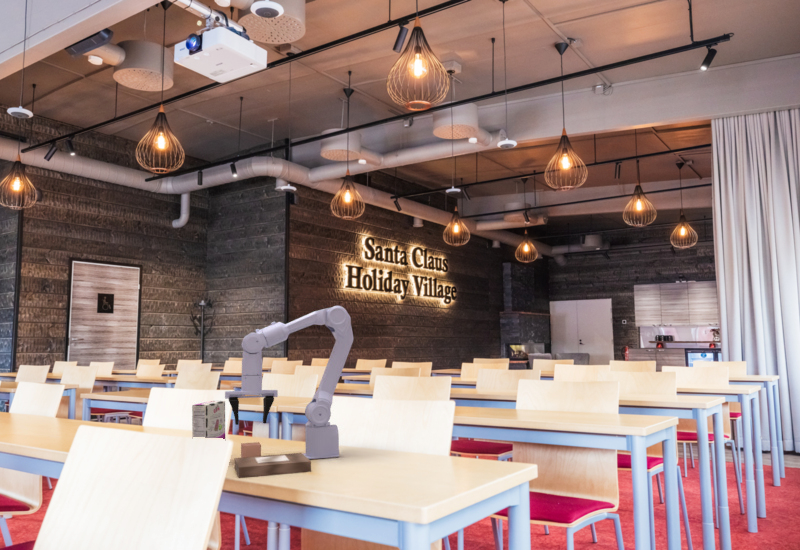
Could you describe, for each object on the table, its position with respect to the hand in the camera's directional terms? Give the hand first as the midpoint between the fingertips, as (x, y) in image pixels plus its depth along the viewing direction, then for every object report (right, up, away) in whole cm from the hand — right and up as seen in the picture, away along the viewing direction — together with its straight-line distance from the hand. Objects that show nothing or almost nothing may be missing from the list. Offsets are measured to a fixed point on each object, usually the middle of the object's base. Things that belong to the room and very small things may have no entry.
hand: (250, 423), depth 176 cm
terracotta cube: (0, -11, -1) cm, 11 cm away
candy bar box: (-13, -12, +4) cm, 18 cm away
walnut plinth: (+9, -9, -13) cm, 18 cm away
